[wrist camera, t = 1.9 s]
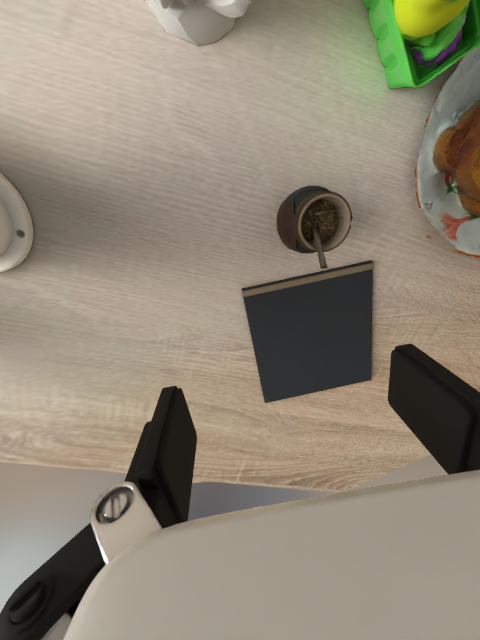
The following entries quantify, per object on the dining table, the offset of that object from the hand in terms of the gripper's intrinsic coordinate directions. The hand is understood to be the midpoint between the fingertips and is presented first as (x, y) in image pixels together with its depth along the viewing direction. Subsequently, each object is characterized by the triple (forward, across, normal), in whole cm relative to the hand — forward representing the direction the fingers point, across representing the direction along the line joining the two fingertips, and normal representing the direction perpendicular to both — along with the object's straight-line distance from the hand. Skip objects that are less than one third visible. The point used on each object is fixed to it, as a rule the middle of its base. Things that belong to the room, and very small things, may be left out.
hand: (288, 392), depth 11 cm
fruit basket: (+25, -18, -21) cm, 38 cm away
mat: (+25, -8, +12) cm, 29 cm away
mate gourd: (+25, -8, -5) cm, 27 cm away
